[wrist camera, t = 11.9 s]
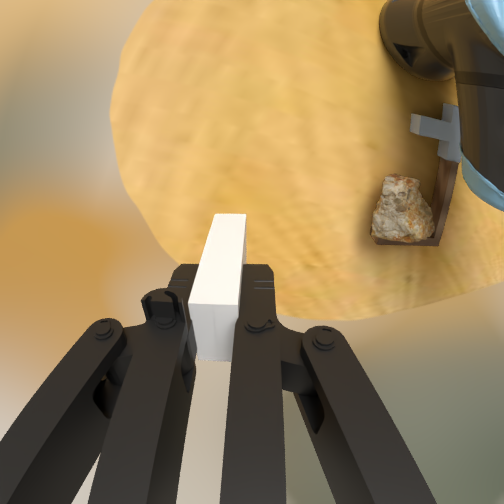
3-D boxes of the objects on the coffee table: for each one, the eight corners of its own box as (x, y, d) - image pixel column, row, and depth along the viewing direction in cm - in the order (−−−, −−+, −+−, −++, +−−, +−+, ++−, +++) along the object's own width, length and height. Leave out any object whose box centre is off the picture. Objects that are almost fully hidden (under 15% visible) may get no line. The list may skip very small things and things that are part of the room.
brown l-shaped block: (384, 146, 40) (393, 151, 37) (447, 157, 39) (458, 163, 36) (370, 234, 47) (376, 244, 44) (429, 236, 47) (438, 246, 44)
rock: (354, 222, 46) (374, 254, 38) (370, 161, 41) (397, 182, 32) (414, 232, 47) (440, 263, 38) (431, 178, 42) (464, 201, 33)
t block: (412, 94, 35) (422, 96, 32) (456, 107, 35) (467, 109, 32) (407, 149, 40) (416, 154, 37) (450, 157, 39) (460, 162, 37)
